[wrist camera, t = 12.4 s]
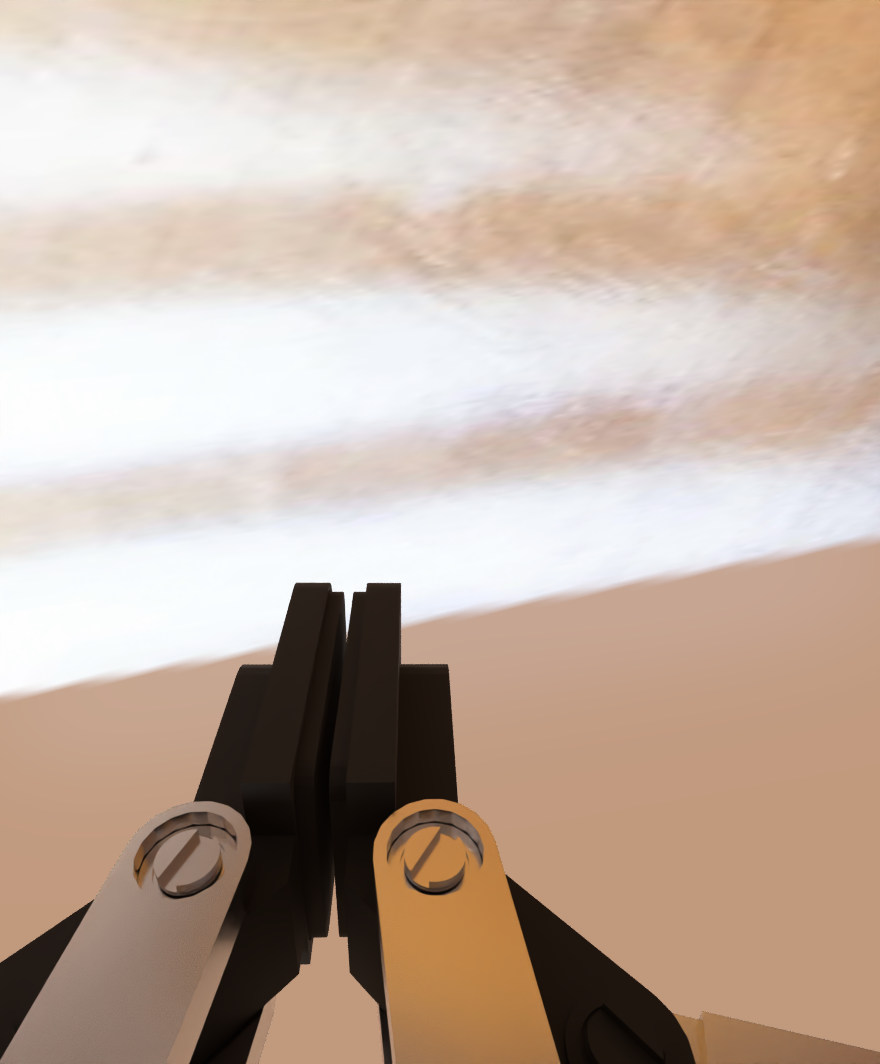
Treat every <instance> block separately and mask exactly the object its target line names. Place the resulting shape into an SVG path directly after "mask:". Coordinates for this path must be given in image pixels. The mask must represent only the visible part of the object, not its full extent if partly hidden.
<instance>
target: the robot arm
mask: <svg viewBox="0 0 880 1064" xmlns="http://www.w3.org/2000/svg"><path fill="white" fill-rule="evenodd" d="M449 682H450V681H449V669H448V665H447V664H414V665H413V664H406V665H405V664H401V583H367V588H366V592H354V593H353V600H352V608H351V615H350V622H349V630H348V637H347V641H346V620H345V599H344V592H332V587H331V584H330V583H296V584H295V586H294V589H293V592H292V596H291V600H290V603H289V607H288V611H287V614H286V618H285V622H284V625H283V629H282V632H281V636H280V640H279V643H278V647H277V651H276V654H275V658H274V662H273V665H242V666H241V667H240V669H239V671H238V673H237V675H236V678H235V682H234V684H233V687H232V690H231V693H230V696H229V699H228V702H227V705H226V708H225V711H224V714H223V717H222V720H221V723H220V726H219V729H218V732H217V735H216V738H215V740H214V744H213V747H212V749H211V752H210V755H209V758H208V761H207V764H206V767H205V770H204V773H203V776H202V779H201V782H200V785H199V788H198V791H197V794H196V797H195V800H194V802H190V803H186V804H182V805H178V806H175V807H172V808H171V809H168V810H166V811H164V812H163V813H160V814H158V815H156V816H155V817H154V818H152V819H151V820H150V821H149V822H147V823H146V824H145V825H144V826H142V827H141V828H140V829H139V830H138V831H137V833H136V834H135V835H134V836H133V838H132V839H131V840H130V841H129V843H128V844H127V845H126V847H125V849H124V850H123V852H122V854H121V855H120V857H119V859H118V860H117V862H116V864H115V865H114V868H113V869H112V871H111V872H110V874H109V876H108V877H107V879H106V881H105V883H104V884H103V886H102V888H101V889H100V891H99V893H98V894H97V896H96V898H95V899H94V900H93V901H91V902H90V903H88V904H87V905H85V906H84V907H82V908H81V909H79V910H78V911H77V912H75V913H73V914H72V915H70V916H69V917H67V918H66V919H64V920H63V921H61V922H60V923H59V924H57V925H56V926H54V927H53V928H51V929H50V930H48V931H47V932H45V933H44V934H42V935H41V936H40V937H38V938H36V939H35V940H33V941H32V942H30V943H29V944H27V945H26V946H25V947H23V948H22V949H20V950H19V951H17V952H16V953H14V954H13V955H11V956H10V957H8V958H7V959H5V960H4V961H2V962H1V963H0V1064H259V1061H260V1057H261V1054H262V1050H263V1047H264V1044H265V1041H266V1037H267V1034H268V1030H269V1027H270V1024H271V1021H272V1017H273V1013H274V1007H275V1000H276V994H277V993H278V992H280V991H281V990H282V989H283V988H284V987H285V986H286V985H287V984H288V983H289V982H290V981H292V980H293V979H294V978H295V977H296V976H297V975H298V974H299V970H300V964H310V960H311V952H312V944H313V938H314V937H327V936H328V931H329V923H330V914H331V905H332V895H333V886H334V877H335V885H336V899H337V911H338V926H339V936H340V937H348V950H349V967H350V973H351V975H352V976H353V977H354V978H355V979H356V980H357V981H358V982H359V983H360V984H361V985H362V987H363V988H364V989H365V990H366V991H367V992H368V993H369V994H370V996H371V997H372V998H373V999H374V1000H375V1001H376V1002H377V1005H378V1020H379V1031H380V1040H381V1051H382V1062H383V1064H880V1052H877V1051H873V1050H868V1049H864V1048H860V1047H856V1046H851V1045H847V1044H843V1043H838V1042H834V1041H830V1040H825V1039H821V1038H817V1037H812V1036H808V1035H804V1034H799V1033H795V1032H791V1031H786V1030H782V1029H778V1028H774V1027H769V1026H765V1025H761V1024H756V1023H752V1022H748V1021H743V1020H739V1019H735V1018H730V1017H726V1016H722V1015H717V1014H713V1013H709V1012H704V1011H702V1013H701V1015H700V1018H699V1019H695V1018H691V1017H686V1016H682V1015H678V1014H674V1013H672V1012H671V1011H670V1010H668V1008H667V1007H666V1006H665V1005H664V1004H663V1003H662V1002H661V1001H660V1000H659V999H658V998H657V997H656V996H655V995H654V994H652V993H651V992H650V991H649V990H648V989H646V988H645V987H644V986H643V985H641V984H640V983H639V982H638V981H636V980H635V979H634V978H633V977H631V976H630V975H629V974H628V973H626V972H625V971H624V970H623V969H622V968H620V967H619V966H618V965H617V964H615V963H614V962H613V961H612V960H611V959H609V958H608V957H607V956H606V955H604V954H603V953H602V952H601V951H599V950H598V949H597V948H596V947H594V946H593V945H592V944H591V943H590V942H588V941H587V940H586V939H585V938H583V937H582V936H581V935H580V934H578V933H577V932H576V931H575V930H574V929H572V928H571V927H570V926H569V925H567V924H566V923H565V922H564V921H562V920H561V919H560V918H559V917H558V916H556V915H555V914H554V913H552V912H551V911H550V910H549V909H548V908H546V907H545V906H544V905H543V904H542V903H540V902H539V901H538V900H537V899H535V898H534V897H533V896H532V895H530V894H529V893H528V892H527V891H525V890H524V889H523V888H522V887H521V886H519V885H518V884H517V883H516V882H514V881H513V880H512V879H511V878H509V877H508V876H507V875H506V874H505V872H504V869H503V865H502V862H501V859H500V855H499V851H498V848H497V845H496V841H495V839H494V837H493V835H492V833H491V831H490V829H489V827H488V825H487V824H486V823H485V822H484V821H483V820H482V819H481V818H480V817H479V816H478V814H476V813H475V812H474V811H472V810H470V809H468V808H467V807H465V806H463V805H462V804H459V803H458V797H457V782H456V767H455V753H454V739H453V725H452V710H451V695H450V683H449Z"/></svg>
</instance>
